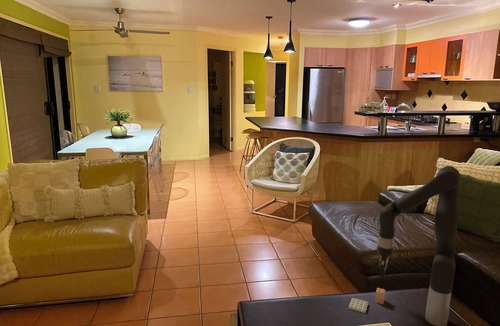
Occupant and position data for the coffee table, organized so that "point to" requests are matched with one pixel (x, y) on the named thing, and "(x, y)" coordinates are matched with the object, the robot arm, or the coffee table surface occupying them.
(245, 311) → the coffee table surface
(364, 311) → the stud plate
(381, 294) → the brick stack
